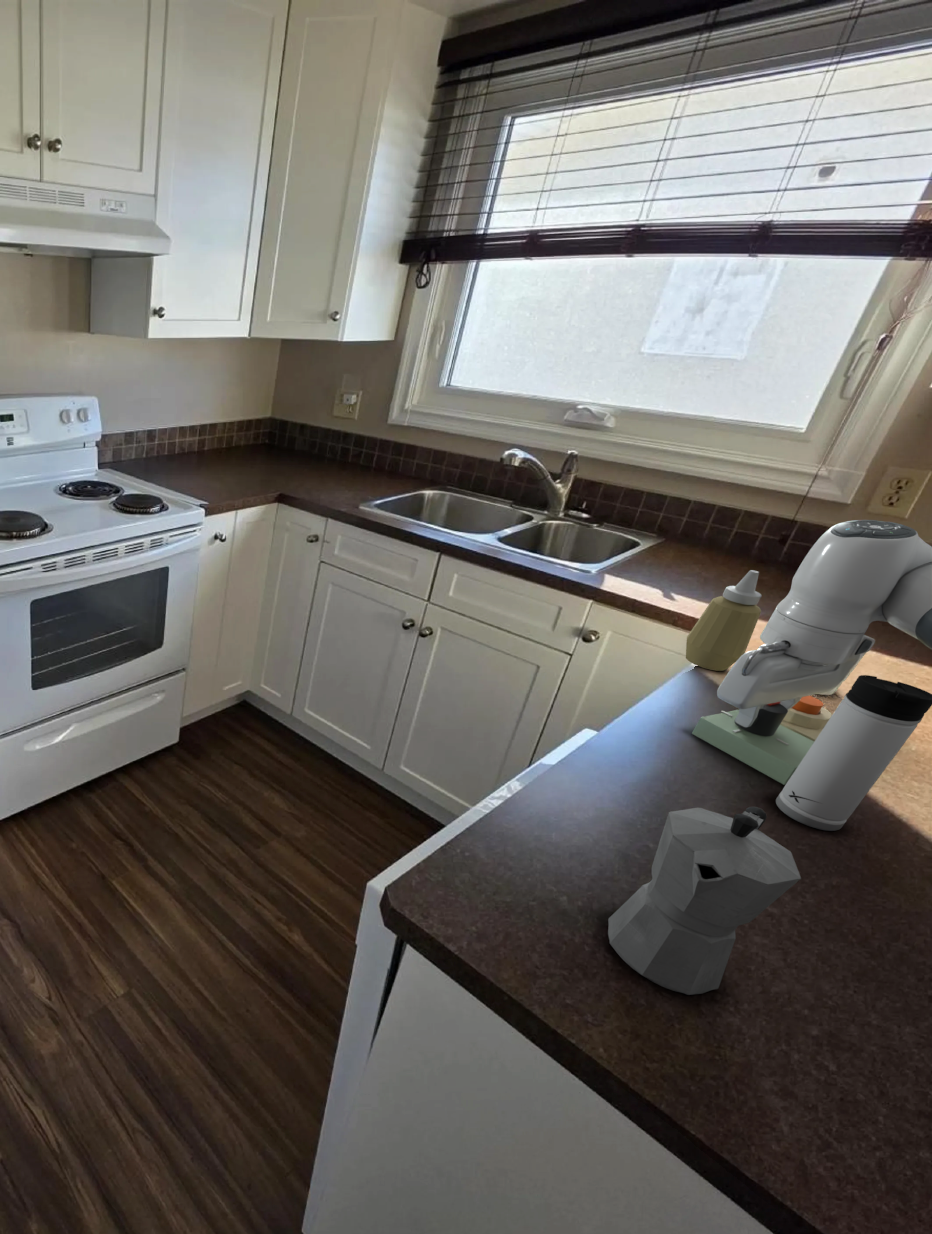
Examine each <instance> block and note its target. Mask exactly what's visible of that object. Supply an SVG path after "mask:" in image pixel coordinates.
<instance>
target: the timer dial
mask: <svg viewBox="0 0 932 1234" xmlns="http://www.w3.org/2000/svg"><path fill="white" fill-rule="evenodd" d="M787 713H788V710H787V709H786V708H785V707H784V706H783V705H781V704H780V702H776V703H771V704H766V705H764V707H763V708H762V709H759V712H758V715H757V716H759V717H760V718H759V720H758V721H757V723H756V725H754V726H750V727H743V726H741V725H740V724H738V723H736V722H735V724H736V725H737V726H739V727H740V728H742V729H744V730H746V731H748V732H750V733H753V734H756V735H761V736H772V735H774V733H775V732H776V730H777V728H778V727H779V725H780V724H781V722H782V720H783V719H784V717H785V716H786V714H787Z"/></svg>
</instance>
